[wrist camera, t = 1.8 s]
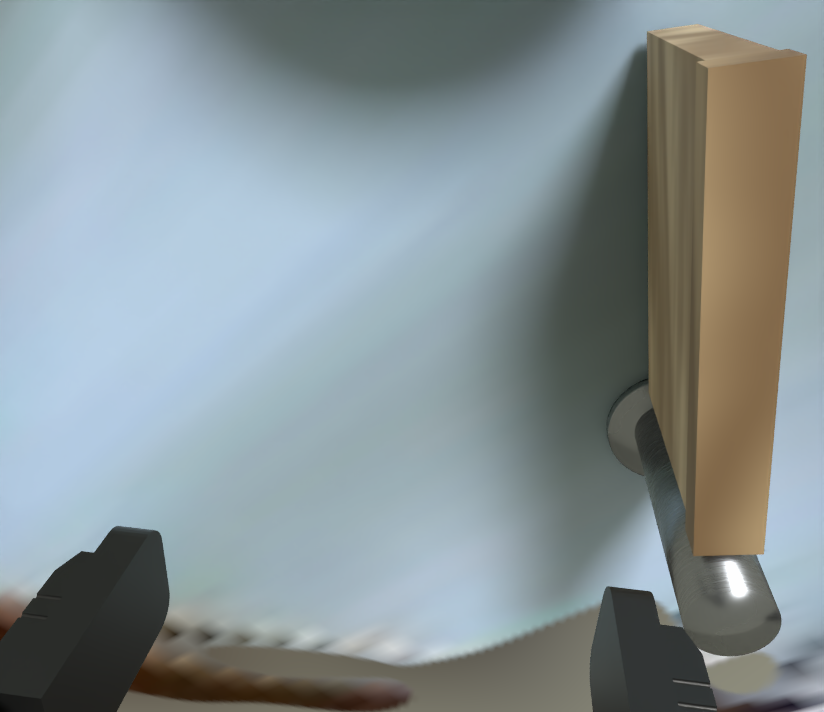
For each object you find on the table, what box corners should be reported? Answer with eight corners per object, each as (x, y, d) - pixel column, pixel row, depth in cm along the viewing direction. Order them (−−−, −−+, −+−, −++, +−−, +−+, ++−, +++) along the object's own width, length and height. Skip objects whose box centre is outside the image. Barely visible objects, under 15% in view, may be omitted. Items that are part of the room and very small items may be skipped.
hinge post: (608, 474, 34) (646, 680, 24) (605, 379, 31) (646, 563, 22) (724, 469, 33) (812, 680, 23) (729, 370, 30) (829, 559, 21)
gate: (643, 399, 31) (693, 563, 22) (640, 32, 25) (708, 68, 16) (693, 396, 31) (763, 561, 22) (703, 23, 24) (806, 54, 16)
